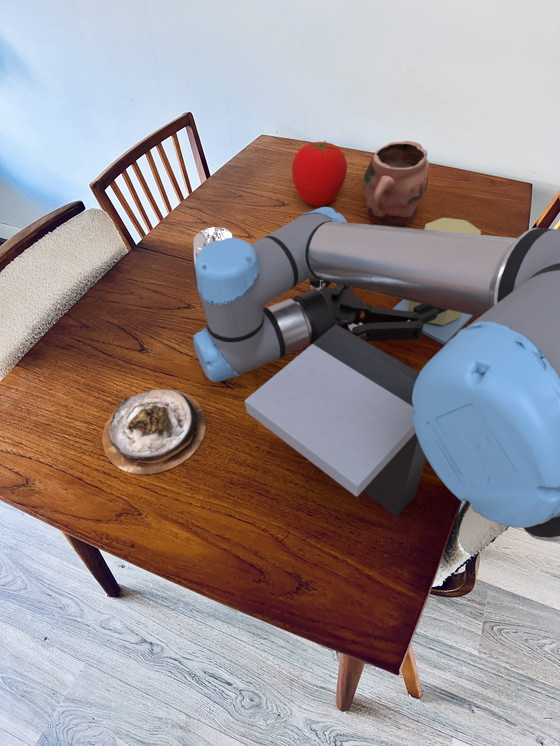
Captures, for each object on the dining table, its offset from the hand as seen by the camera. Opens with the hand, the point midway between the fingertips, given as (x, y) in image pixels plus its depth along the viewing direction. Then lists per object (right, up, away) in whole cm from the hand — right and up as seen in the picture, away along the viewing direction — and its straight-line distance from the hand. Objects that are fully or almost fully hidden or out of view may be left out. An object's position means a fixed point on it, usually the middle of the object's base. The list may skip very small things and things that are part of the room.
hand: (423, 274), depth 80 cm
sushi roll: (-40, -24, -4) cm, 47 cm away
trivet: (+4, -5, +9) cm, 11 cm away
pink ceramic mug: (+1, +16, +27) cm, 32 cm away
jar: (+4, -5, +8) cm, 10 cm away
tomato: (-14, +22, +33) cm, 42 cm away
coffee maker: (-14, -32, -13) cm, 37 cm away
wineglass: (-30, -10, +7) cm, 33 cm away
